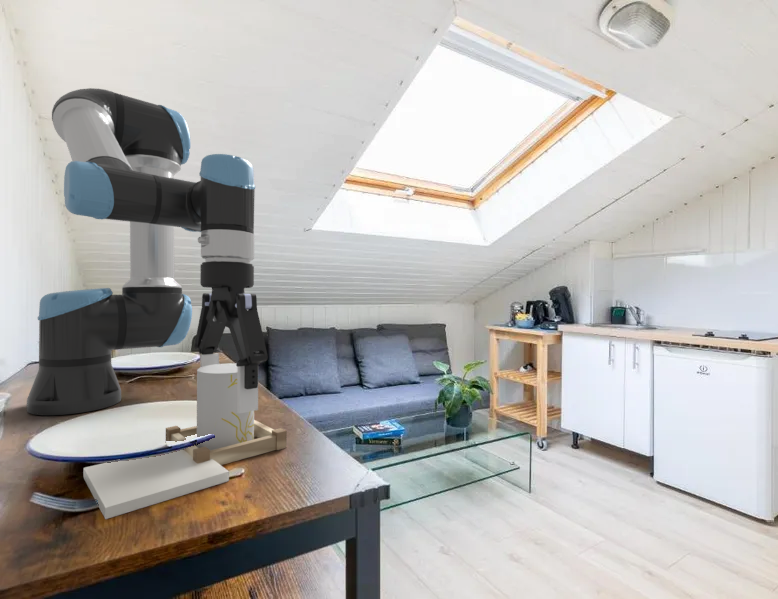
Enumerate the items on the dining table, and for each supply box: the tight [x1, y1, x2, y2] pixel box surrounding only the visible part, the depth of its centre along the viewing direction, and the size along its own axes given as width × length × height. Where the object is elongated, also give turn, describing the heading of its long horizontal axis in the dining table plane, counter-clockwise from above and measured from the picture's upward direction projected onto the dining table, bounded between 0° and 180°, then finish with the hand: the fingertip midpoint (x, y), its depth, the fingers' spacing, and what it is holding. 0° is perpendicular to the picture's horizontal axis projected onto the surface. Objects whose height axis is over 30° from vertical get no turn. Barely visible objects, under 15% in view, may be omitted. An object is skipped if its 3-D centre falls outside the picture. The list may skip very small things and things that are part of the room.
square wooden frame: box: [165, 419, 288, 466], centre depth 64 cm, size 13×13×3 cm
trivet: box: [82, 450, 230, 520], centre depth 52 cm, size 13×13×1 cm
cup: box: [196, 362, 255, 450], centre depth 64 cm, size 8×8×12 cm
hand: (227, 402), depth 63 cm, fingers open, 13 cm apart
